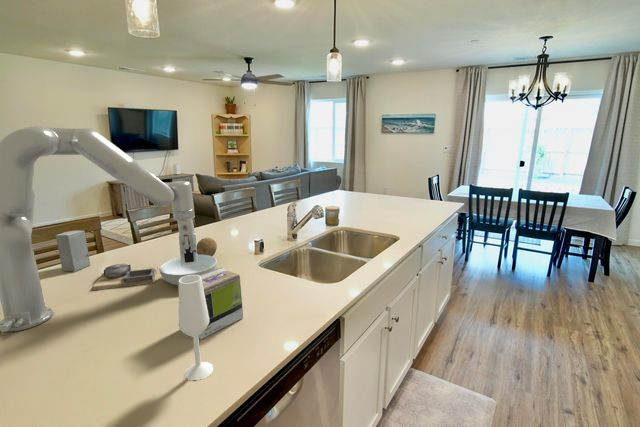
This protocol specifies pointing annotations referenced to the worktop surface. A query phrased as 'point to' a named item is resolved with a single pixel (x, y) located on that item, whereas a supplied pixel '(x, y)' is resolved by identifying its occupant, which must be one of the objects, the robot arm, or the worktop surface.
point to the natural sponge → (206, 247)
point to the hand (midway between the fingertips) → (189, 259)
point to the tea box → (221, 299)
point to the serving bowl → (186, 268)
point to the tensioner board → (124, 276)
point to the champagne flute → (194, 321)
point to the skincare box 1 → (73, 250)
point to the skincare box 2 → (194, 249)
